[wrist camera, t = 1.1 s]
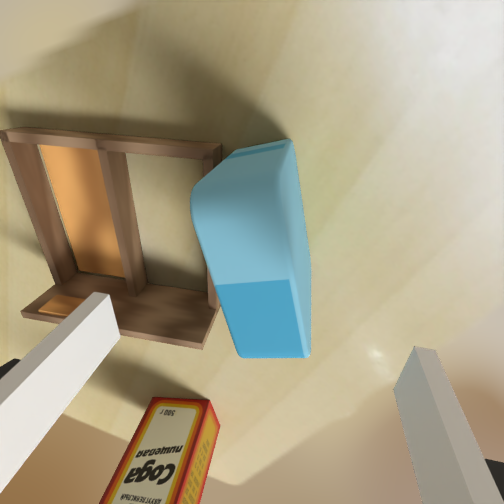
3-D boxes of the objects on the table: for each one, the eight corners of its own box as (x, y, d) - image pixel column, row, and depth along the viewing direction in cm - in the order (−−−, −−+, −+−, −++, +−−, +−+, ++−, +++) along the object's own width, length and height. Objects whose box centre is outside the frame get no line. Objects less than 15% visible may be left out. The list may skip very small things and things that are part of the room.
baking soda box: (210, 400, 42) (161, 550, 29) (220, 425, 45) (181, 572, 32) (152, 396, 45) (83, 534, 31) (166, 421, 48) (108, 556, 34)
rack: (73, 277, 34) (23, 317, 28) (23, 126, 26) (-63, 139, 20) (222, 300, 32) (202, 349, 26) (221, 143, 23) (191, 163, 18)
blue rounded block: (237, 146, 23) (180, 194, 13) (292, 134, 22) (276, 177, 12) (266, 269, 29) (241, 369, 19) (311, 265, 28) (311, 369, 18)
